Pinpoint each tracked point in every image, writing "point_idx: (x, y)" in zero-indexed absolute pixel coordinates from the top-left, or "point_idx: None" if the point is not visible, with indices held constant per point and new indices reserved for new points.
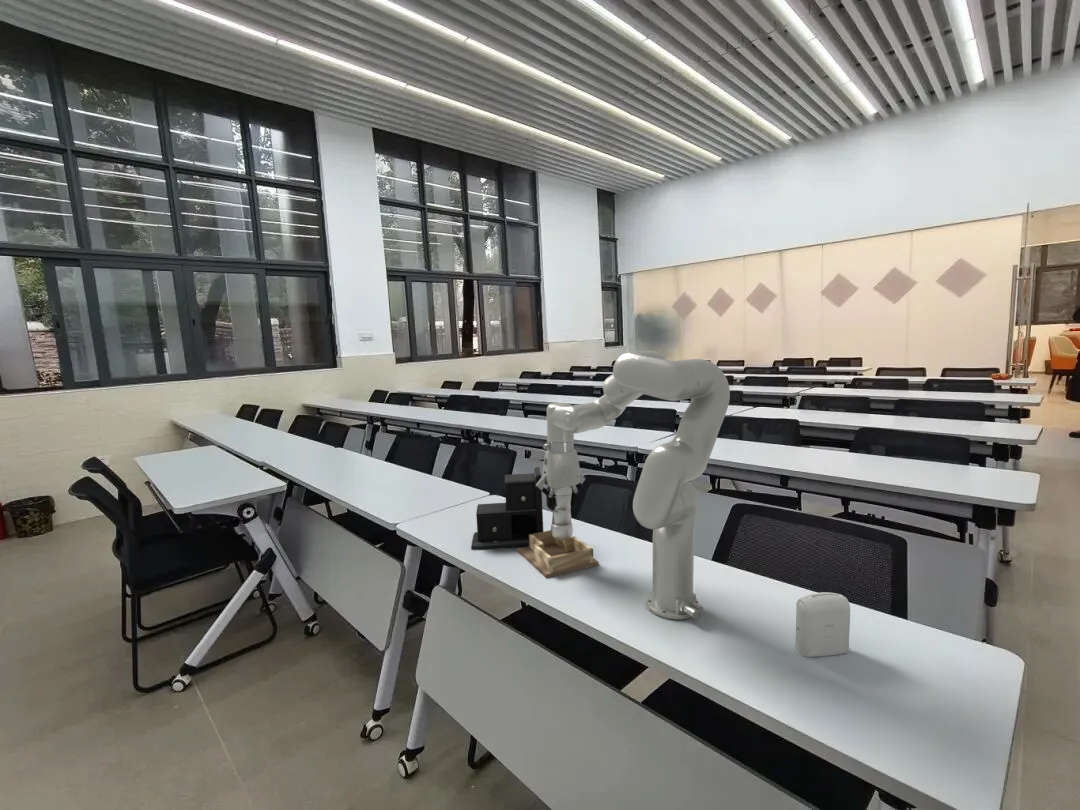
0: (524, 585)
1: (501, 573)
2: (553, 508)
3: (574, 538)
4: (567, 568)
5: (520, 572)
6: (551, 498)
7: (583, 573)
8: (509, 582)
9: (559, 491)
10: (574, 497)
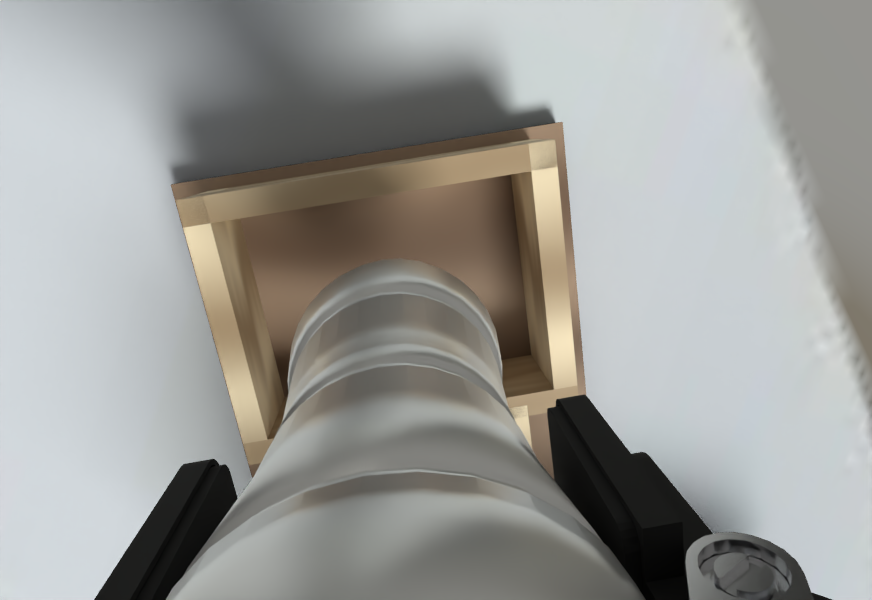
0: (704, 73)
1: (764, 269)
2: (576, 406)
3: (261, 427)
4: (406, 156)
5: (666, 246)
6: (668, 534)
7: (314, 101)
8: (766, 143)
9: (571, 594)
10: (134, 561)
